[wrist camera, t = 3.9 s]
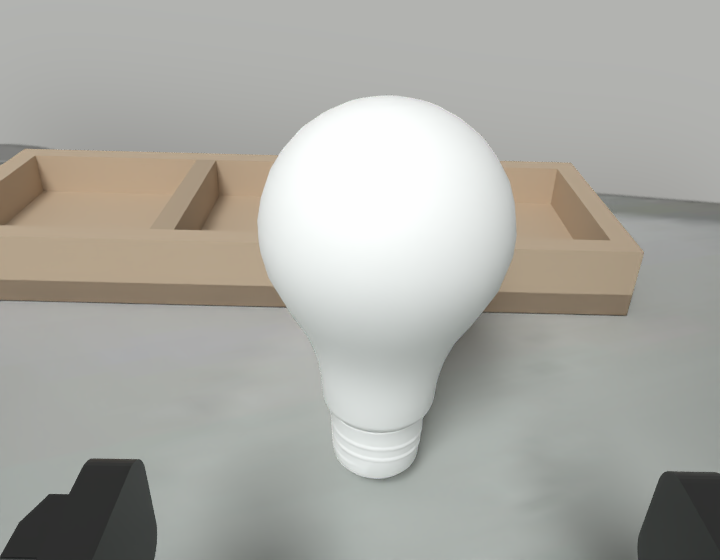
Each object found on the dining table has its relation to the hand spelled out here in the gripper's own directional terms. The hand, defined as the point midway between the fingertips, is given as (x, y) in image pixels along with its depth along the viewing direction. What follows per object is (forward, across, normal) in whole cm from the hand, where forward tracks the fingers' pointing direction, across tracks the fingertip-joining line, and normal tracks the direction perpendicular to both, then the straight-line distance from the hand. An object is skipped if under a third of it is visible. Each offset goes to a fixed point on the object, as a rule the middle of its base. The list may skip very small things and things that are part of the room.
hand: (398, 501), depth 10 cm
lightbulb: (+7, 0, +7) cm, 10 cm away
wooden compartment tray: (+21, +4, +6) cm, 22 cm away
